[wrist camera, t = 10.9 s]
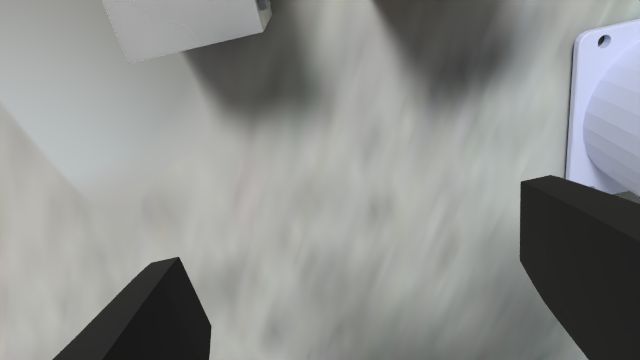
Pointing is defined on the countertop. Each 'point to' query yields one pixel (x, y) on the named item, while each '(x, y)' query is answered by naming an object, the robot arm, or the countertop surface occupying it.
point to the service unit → (182, 24)
